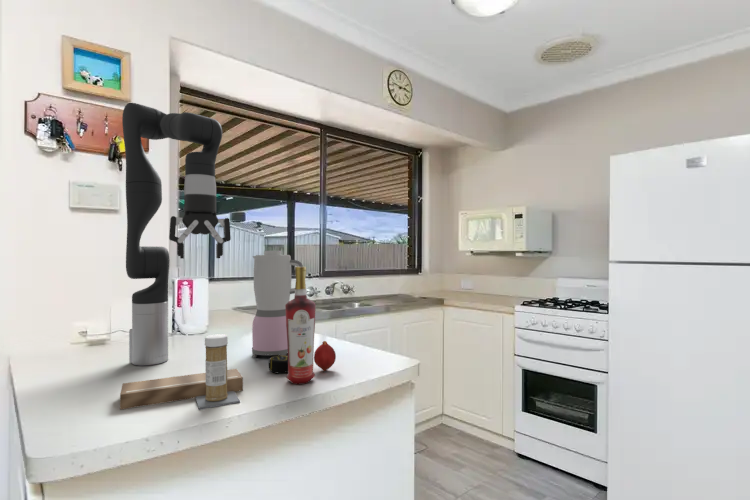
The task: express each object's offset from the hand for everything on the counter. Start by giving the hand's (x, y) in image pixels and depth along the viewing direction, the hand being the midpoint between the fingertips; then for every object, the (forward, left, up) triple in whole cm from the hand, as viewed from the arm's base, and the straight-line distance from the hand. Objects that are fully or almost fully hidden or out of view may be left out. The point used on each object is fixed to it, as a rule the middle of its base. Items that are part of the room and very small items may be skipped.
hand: (200, 258), depth 106 cm
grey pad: (+15, -13, -30) cm, 36 cm away
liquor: (+26, +4, -30) cm, 40 cm away
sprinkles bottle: (+15, -13, -30) cm, 36 cm away
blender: (+7, +26, -30) cm, 41 cm away
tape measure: (+18, +11, -30) cm, 37 cm away
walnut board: (+5, -12, -30) cm, 33 cm away
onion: (+28, +14, -30) cm, 44 cm away
